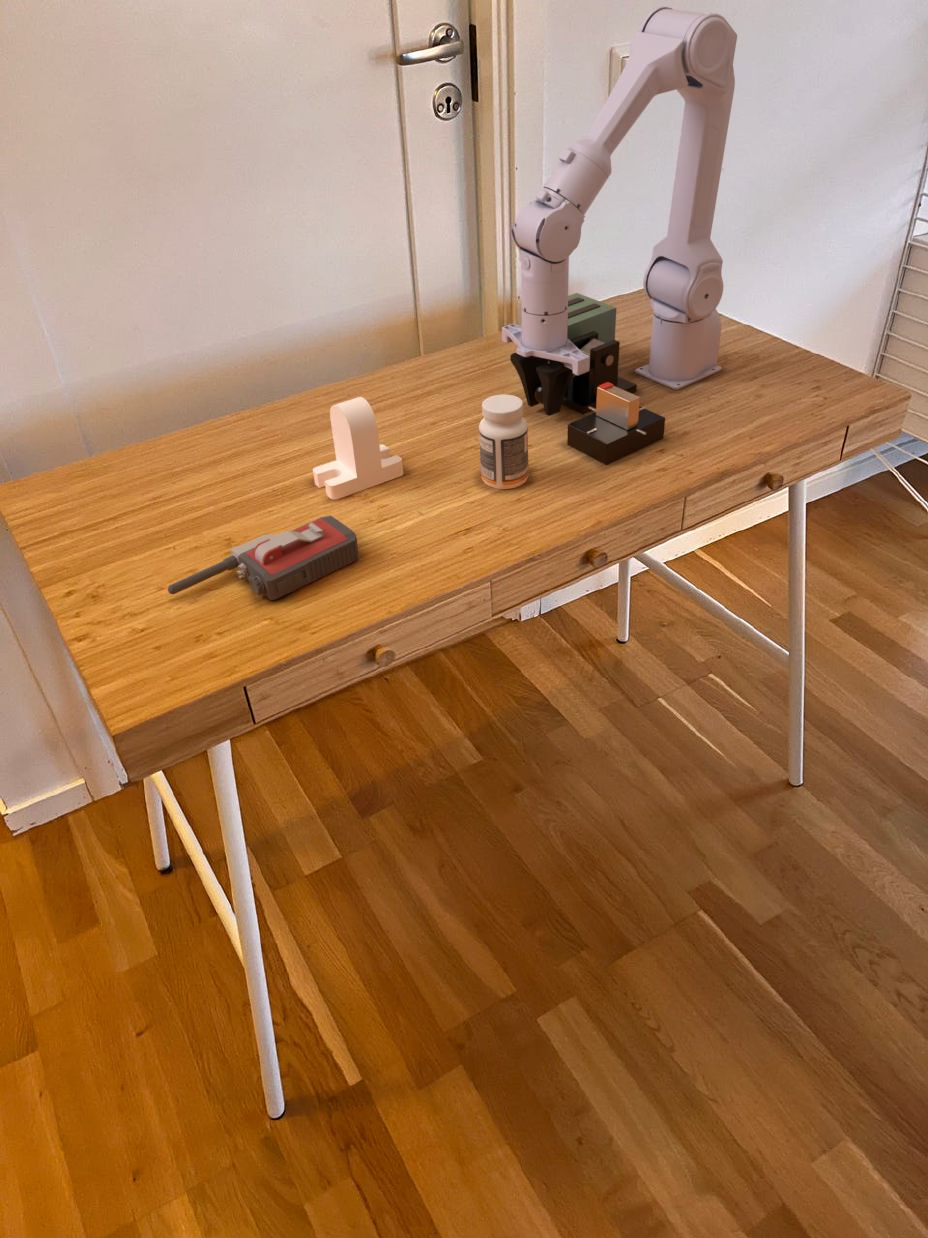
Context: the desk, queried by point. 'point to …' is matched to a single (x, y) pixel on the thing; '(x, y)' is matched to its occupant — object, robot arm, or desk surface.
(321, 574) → the walkie-talkie
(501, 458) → the pill bottle
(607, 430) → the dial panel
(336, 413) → the white phone stand
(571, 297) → the toaster
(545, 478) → the desk surface
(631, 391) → the lever bracket
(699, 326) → the robot arm
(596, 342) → the lever
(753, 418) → the desk surface
